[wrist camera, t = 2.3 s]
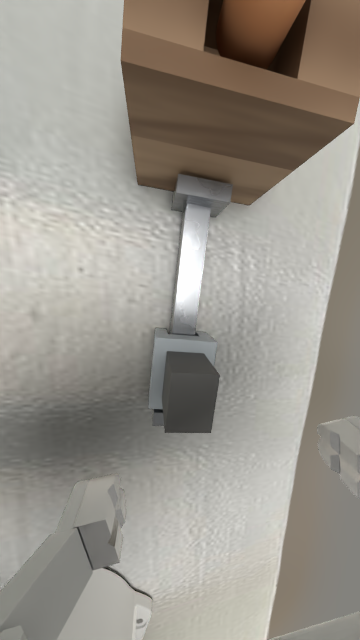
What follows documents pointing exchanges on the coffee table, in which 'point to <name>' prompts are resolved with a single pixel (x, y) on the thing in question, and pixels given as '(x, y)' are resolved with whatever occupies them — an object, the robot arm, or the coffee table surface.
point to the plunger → (254, 29)
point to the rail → (192, 250)
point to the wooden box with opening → (235, 94)
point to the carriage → (184, 381)
